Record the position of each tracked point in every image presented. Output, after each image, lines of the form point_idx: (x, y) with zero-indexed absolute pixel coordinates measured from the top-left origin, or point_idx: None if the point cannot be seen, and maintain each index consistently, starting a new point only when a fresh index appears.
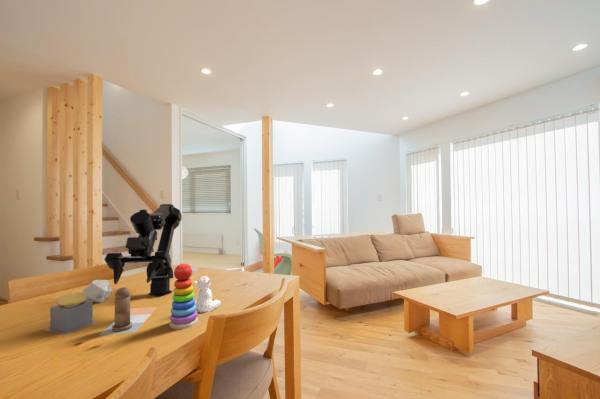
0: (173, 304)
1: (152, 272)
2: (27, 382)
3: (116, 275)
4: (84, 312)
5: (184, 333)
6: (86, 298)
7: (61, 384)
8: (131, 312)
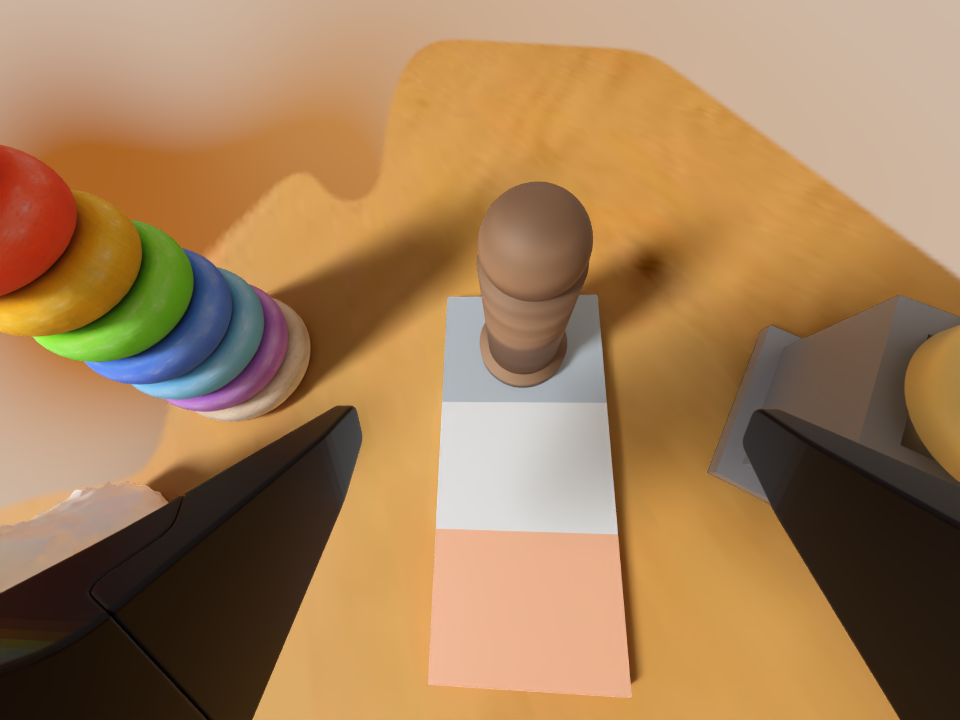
0: (209, 265)
1: (216, 482)
2: (632, 80)
3: (863, 464)
4: (816, 411)
5: None
6: None
7: (534, 67)
8: (577, 594)
